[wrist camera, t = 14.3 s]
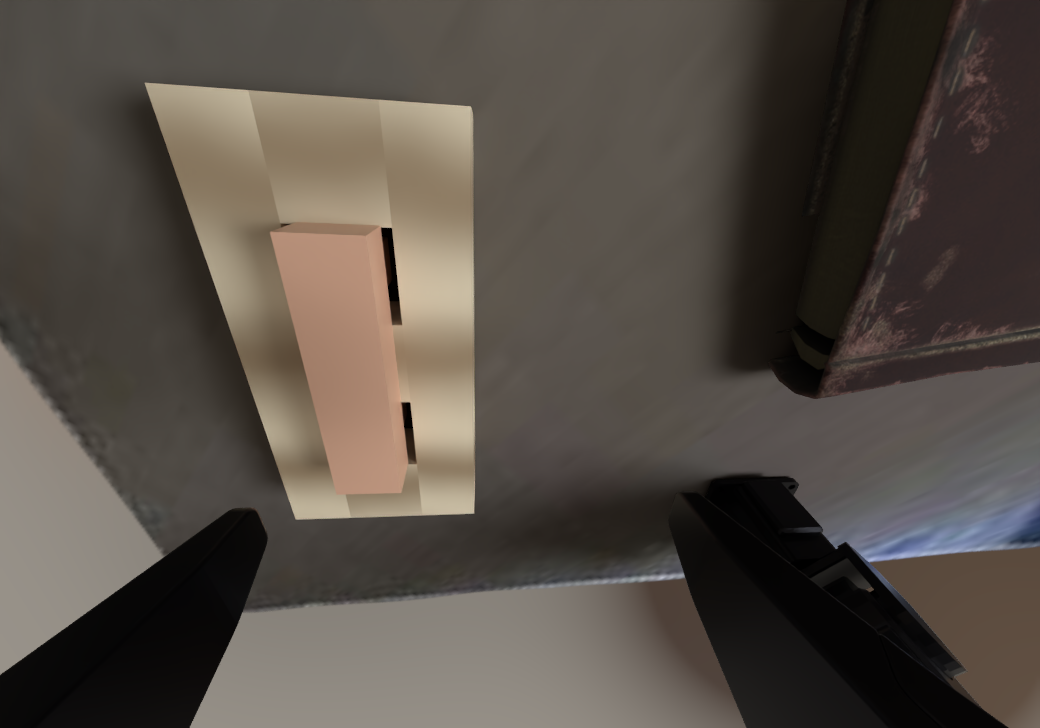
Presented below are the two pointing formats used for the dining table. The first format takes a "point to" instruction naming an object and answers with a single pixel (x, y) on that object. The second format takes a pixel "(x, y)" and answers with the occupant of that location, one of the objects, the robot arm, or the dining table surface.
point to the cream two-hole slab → (340, 200)
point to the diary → (923, 199)
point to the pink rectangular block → (347, 348)
